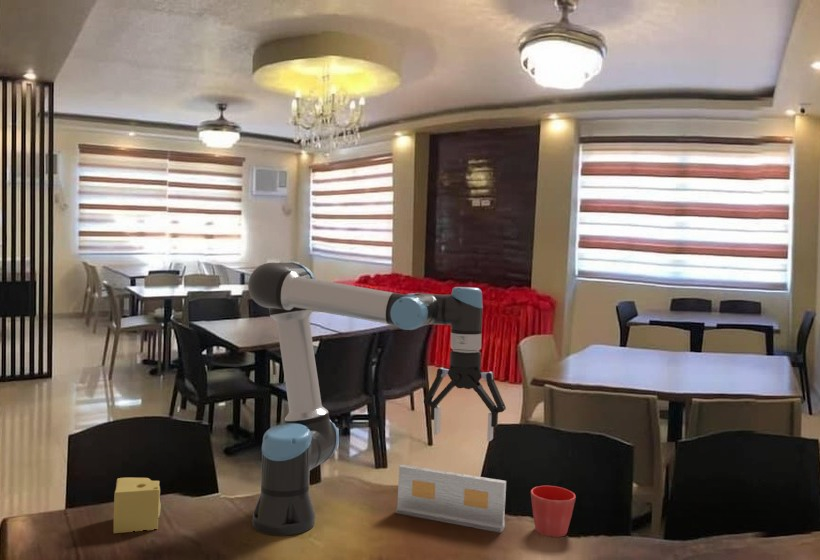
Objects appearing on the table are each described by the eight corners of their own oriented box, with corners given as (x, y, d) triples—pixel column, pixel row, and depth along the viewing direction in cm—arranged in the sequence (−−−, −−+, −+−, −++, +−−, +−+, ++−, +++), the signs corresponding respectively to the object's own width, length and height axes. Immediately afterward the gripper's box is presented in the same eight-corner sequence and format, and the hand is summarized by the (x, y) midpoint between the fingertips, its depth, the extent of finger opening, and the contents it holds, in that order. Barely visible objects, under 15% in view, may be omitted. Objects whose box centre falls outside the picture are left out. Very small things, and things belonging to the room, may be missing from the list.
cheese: (160, 514, 170) (161, 474, 169) (159, 531, 159) (160, 489, 159) (115, 517, 166) (116, 477, 166) (110, 535, 156) (111, 492, 156)
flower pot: (575, 542, 163) (577, 502, 162) (528, 537, 165) (530, 497, 164) (572, 525, 173) (574, 488, 173) (529, 520, 175) (530, 483, 175)
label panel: (395, 513, 176) (397, 467, 176) (401, 507, 180) (403, 463, 180) (501, 532, 166) (503, 484, 166) (504, 527, 170) (507, 479, 170)
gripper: (412, 348, 167) (410, 433, 167) (512, 356, 158) (509, 446, 158) (423, 345, 174) (420, 427, 174) (519, 352, 165) (516, 438, 166)
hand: (463, 436), depth 166 cm, fingers open, 13 cm apart
